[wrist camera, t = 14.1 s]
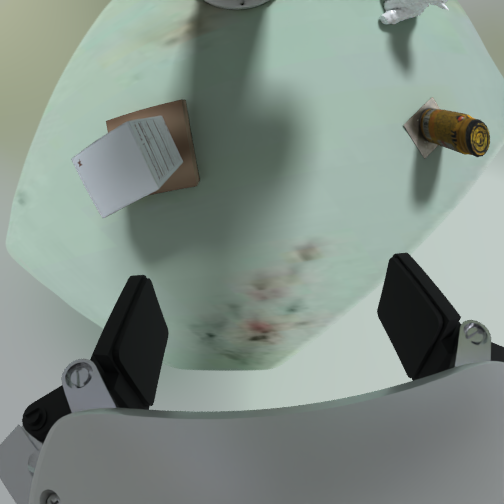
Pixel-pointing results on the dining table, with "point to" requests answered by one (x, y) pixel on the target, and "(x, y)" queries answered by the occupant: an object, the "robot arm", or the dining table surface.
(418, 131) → the condiment
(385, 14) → the sitting furry creature
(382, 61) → the dining table surface
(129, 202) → the supplement box
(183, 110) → the walnut base
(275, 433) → the robot arm
